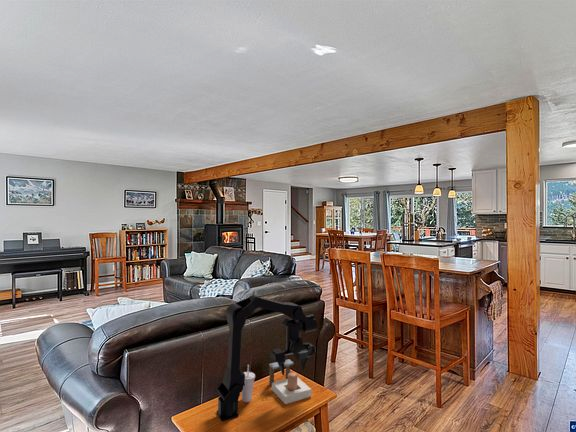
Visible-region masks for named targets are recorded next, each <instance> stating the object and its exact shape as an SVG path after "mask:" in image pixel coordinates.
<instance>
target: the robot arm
mask: <svg viewBox="0 0 576 432" xmlns="http://www.w3.org/2000/svg"><path fill="white" fill-rule="evenodd" d="M258 308H259V309H264V310H267V311H272V312H275V313H280V314H282V315H285V316H286V317H287V318H285V319H284V320H282V322H281V324H282V325H283V326H285V327H286V335H284V339H285V341H286V343H285V345H284V350H282V349H281V348H275V349H271V350H270V352H269V357H270V358H271V359H272V360H273V361H275V362H277V363H278V365H279V367H280V368H279V370H280V372H281V374H282V376H284V375H285V373H286V370H285V367H284V363H285V360H286V356H289V355H293V356H294V357H295V359H296V360H297V361H300V367H301V370H302V371H304V370H305V367H306V365H307V363H308V360H309V358H310V357H311V356H313V355H314V354H316V351H317V349H316V348H317V347H315V345H313V343H310V342H309V341H308V342H303V338H302V337H301V332H302V333H310V332H314V331H315V332H316V330H317V329H318V322H317V320H316V317H315V314H312V313H310V314H307V315H305V314H304V311H303V307H302V306H301V305H299V304H296V303H294V302H291V301H290V302H289V301H284V302H280V301H276V300H272V299H268V298H265V297H260V296H258V295H256V294H252V295H250V296H248V297H246V298H244V299H242V300H239V301H237V302H236V303H231V304H230V305H229V306H227V308H226V310H225V314H226V315H225V317H226V321H227V325H228V328H229V331H228V332H229V333H228V347H227V348H228V350H227V353H228V355H227V366H226V370H225V371H224V374H223V378H222V382H221V383H219V385H218V386H217V387H216V392H217V394H218V398H217V400H218V401H217V410H216V413H217V416H218V418H219V419H220V421H221V422H224V421H227V420H230V419H234V418H238V417H239V399H240V395H241V394H242V393H241V392H242V390H243V385H244V386H245V383H244V381H245V374H244V373H243V372H244V371H242V370H241V354H242V353H241V352H242V351H241V350H242V334H243V333H242V331H243V329H244V327H245V325H246V321H247V318H248V317H250V316H251V315H252V314H253V313H255V311H256V310H257V309H258ZM289 318H290V319H289Z"/></svg>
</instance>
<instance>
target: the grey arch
mask: <svg viewBox="0 0 576 432" xmlns="http://www.w3.org/2000/svg"><path fill="white" fill-rule="evenodd" d="M284 360H285V363H284V368H285V379H288V374H289V373H291V366H293V365H294V361H292V360H291V359H288V358H287V359H284ZM268 366H269V379H268V380H269V385H270V386H272V383H273V382H275V370H276V369H280V367H279V365H278V363H277V362H276V361H275V362H272V363H269V364H268Z"/></svg>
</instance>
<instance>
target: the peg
mask: <svg viewBox="0 0 576 432" xmlns="http://www.w3.org/2000/svg"><path fill="white" fill-rule="evenodd" d="M297 377H298V373H296V372H290V373H289V374H288V391H290V392H291V391H294V390H297Z"/></svg>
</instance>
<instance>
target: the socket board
mask: <svg viewBox="0 0 576 432" xmlns="http://www.w3.org/2000/svg"><path fill="white" fill-rule="evenodd" d="M271 391H272V392H273V393H274V394H275V395H276V396H277V397H278V398H279V399H280V400H281V402H282V403H283V404H285V405H288V404H292V403H295V402H297V401H301V400H303V399H307V398H310V397H312V388H311V387H310V386H309V385H307V383H305V382H304V381H302V380H301V378H299V377H298V376H297V390H294V391H291V392H290V391H288V379H286V378H285V379H281V380H278V381H277V380H276V381H274V382H273V383H272V385H271Z"/></svg>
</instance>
